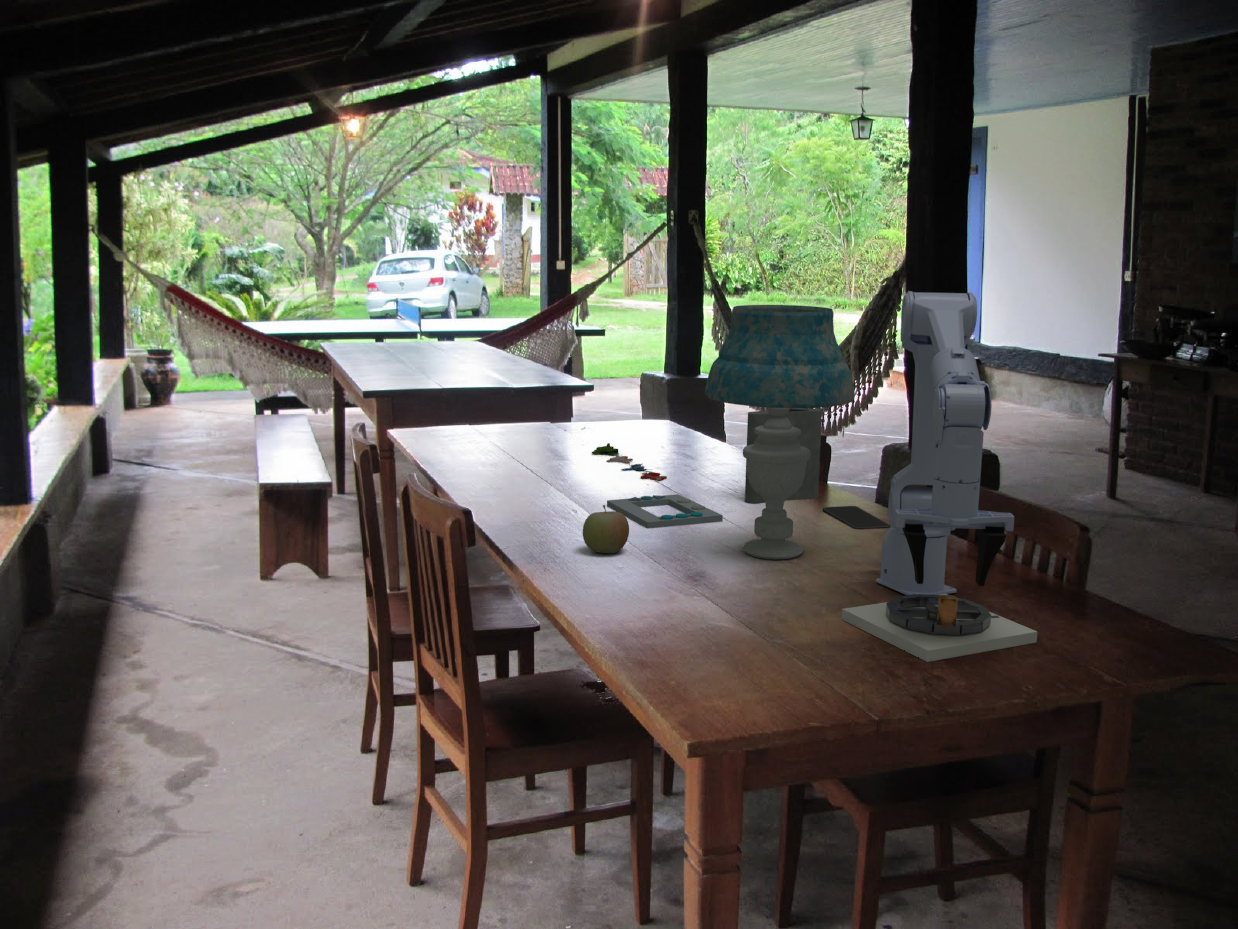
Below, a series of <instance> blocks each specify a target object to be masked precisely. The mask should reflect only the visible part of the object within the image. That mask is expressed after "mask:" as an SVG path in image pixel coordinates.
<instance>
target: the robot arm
mask: <svg viewBox="0 0 1238 929" xmlns="http://www.w3.org/2000/svg"><path fill="white" fill-rule="evenodd" d="M977 301H978V300H977V298H976V295H974V293H973V292H971V291H969V292H966V293H964V292H962V293H961V292H958V293H957V292H917V291H916V292H915V291H911V290H908V291H907V292H906V293H905V294H904V295H903V298H902V304H901V311H900V338H899V339H900V342H901V347H902V349H904V350H907V351H908V352H911V353H912V357H913V361H914V387H913V388H914V389H913V408H912V409H913V410H912V411H913V412H912V435H911V454H910V455H911V456H910V458H911V459H910V463H909V464H908V465H907V466H905V467H903V468H902V469H901V470H899V471H897V473H895V474H894V475H893V476H892V478H891V481H890V490H889V495H888V506H887V507H888V509H887V510H888V514H887V515H888V524H889V525H890V528H888V529H887V531H886V532H885V534H884V536H883V539H882V543H881V561H880V577H877V578H876V579H875V582H876V583H878V584H879V585H882V586H885V587H887V588H889V589H890V590H891V589H892V590H894V591H897V592H898V593H901V594H903V595H904V596H907V595H913V594H917V595H918V594H930V595H939V594H948V595H950V594H955V593H957V588H955V587H952V586H949V585H948V584H945V577H946V576H945V574H946V561H947V548H948V536H951V531H955V530H956V529H972V530H973V529H974V530H977V536H978V537H977V540H978V542H977V543H978V545H977V547H978V548H977V561H976V567H975V568H976V569H975V583H976V584H977V586H978V587H985V584H986V580H987V577H988V574H989V571H990V568H991V566H992V564H993V561H994V559H995V558H996V556H997V554H998V552H999V551H1000V549H1001V548H1002V547H1003V545H1004V544H1005V542H1006V538H1007V534H1006V533H1005V532H1014V526H1015V516H1014V515H1013V513H1011V512H1000V511H999V512H998V511H989V510H980V509H979V502H980V500H979V499H980V489H981V473H982V459H983V449H984V448H983V446H984V436H985V435H984V434H985V432H984V431H987V430H988V429H989V426H990V422H991V418H992V417H991V416H992V405H993V404H992V402H993V401H992V393H991V388H990V385H989V383H986V381H984V380H981V378H980V373H979V369H978V366H977V360H976V357H975V355H974V354H973V352H971V351H970V350H969V349H967V348H966V346H967V345H968V343H969V342H970V339H971V338H972V335H973V334H975V333H974V332H975V331H976V326H977V321H978V320H977V318H978V304H977ZM983 430H984V431H983ZM911 485H916V486H911ZM917 485H918V486H919V487H918V486H917ZM920 485H921V486H922V487H921V486H920ZM924 486H926V487H924ZM927 486H932V487H927Z"/></svg>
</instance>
